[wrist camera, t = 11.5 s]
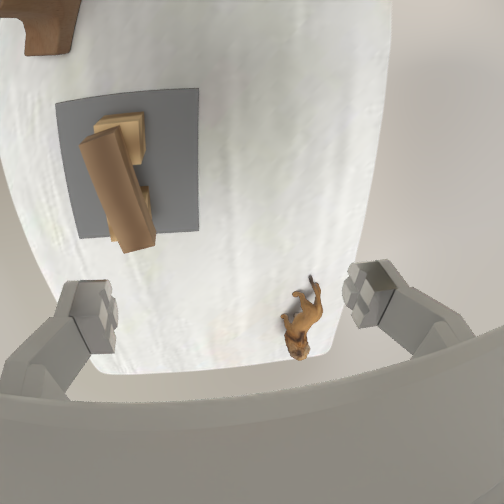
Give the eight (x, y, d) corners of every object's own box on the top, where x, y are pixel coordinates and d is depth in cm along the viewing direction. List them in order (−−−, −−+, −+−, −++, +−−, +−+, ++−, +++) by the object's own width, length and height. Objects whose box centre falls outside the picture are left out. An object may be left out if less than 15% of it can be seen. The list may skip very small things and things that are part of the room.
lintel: (126, 239, 38) (123, 253, 35) (86, 136, 29) (78, 145, 27) (156, 231, 38) (154, 245, 36) (119, 124, 29) (113, 132, 27)
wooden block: (70, 53, 27) (-10, 69, 13) (39, 54, 25) (-51, 76, 11) (86, -15, 22) (16, -47, 8) (53, -13, 20) (-29, -33, 6)
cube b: (112, 188, 38) (104, 207, 34) (148, 185, 39) (144, 204, 35) (117, 220, 41) (111, 241, 37) (151, 218, 42) (149, 239, 38)
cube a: (104, 115, 32) (93, 125, 28) (144, 111, 33) (138, 120, 29) (107, 153, 35) (98, 168, 31) (146, 149, 36) (140, 164, 32)
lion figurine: (298, 328, 64) (311, 363, 57) (274, 329, 63) (285, 365, 56) (322, 274, 56) (341, 310, 49) (295, 273, 54) (311, 311, 47)
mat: (56, 103, 30) (55, 104, 30) (198, 88, 33) (198, 88, 33) (80, 237, 42) (79, 238, 42) (198, 229, 45) (198, 231, 45)
